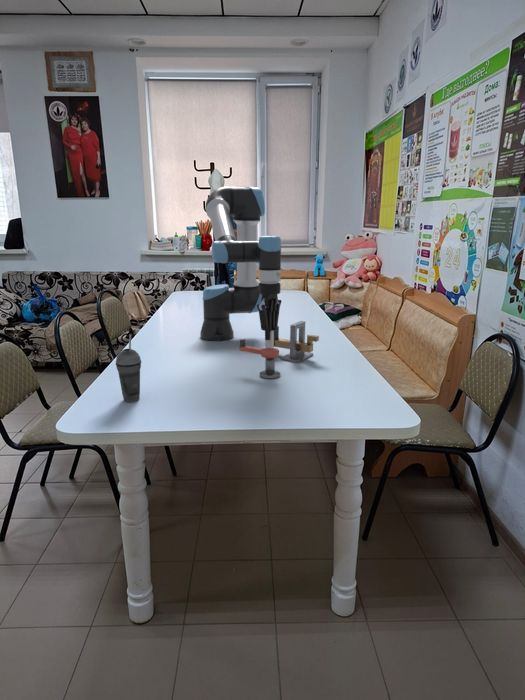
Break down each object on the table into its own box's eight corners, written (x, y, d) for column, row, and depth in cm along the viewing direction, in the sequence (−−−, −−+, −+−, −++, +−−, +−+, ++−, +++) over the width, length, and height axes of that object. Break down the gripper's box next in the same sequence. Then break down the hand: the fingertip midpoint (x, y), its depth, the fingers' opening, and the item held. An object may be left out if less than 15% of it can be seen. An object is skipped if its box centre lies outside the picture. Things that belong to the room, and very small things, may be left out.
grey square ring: (280, 359, 171) (281, 324, 168) (295, 352, 181) (296, 319, 177) (299, 362, 167) (300, 327, 164) (313, 355, 177) (314, 321, 173)
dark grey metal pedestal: (255, 376, 153) (255, 357, 151) (266, 371, 158) (266, 352, 156) (273, 380, 149) (273, 360, 147) (283, 374, 155) (284, 355, 153)
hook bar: (267, 345, 178) (267, 326, 176) (272, 343, 181) (272, 325, 179) (315, 353, 168) (315, 333, 165) (319, 351, 171) (319, 331, 168)
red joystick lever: (235, 352, 155) (235, 341, 154) (244, 348, 160) (244, 337, 159) (273, 359, 148) (273, 347, 147) (282, 354, 153) (282, 343, 152)
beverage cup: (121, 395, 136) (116, 331, 131) (146, 394, 137) (141, 331, 131) (116, 404, 129) (109, 337, 124) (142, 403, 130) (136, 337, 124)
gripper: (269, 285, 147) (268, 354, 153) (288, 280, 157) (287, 345, 164) (250, 283, 151) (250, 350, 157) (270, 279, 161) (269, 342, 168)
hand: (269, 347), depth 161 cm, fingers closed
